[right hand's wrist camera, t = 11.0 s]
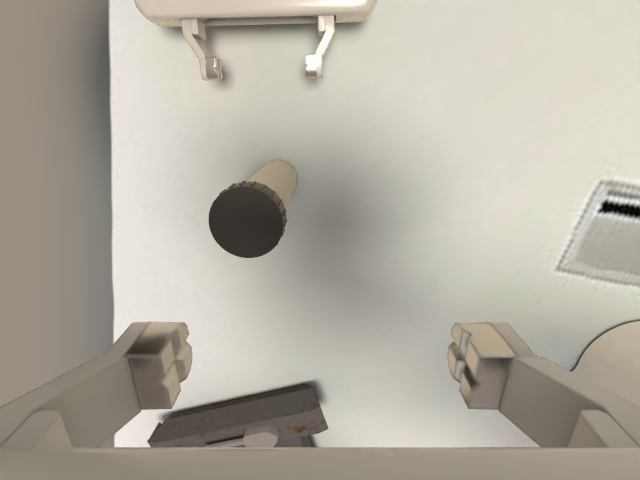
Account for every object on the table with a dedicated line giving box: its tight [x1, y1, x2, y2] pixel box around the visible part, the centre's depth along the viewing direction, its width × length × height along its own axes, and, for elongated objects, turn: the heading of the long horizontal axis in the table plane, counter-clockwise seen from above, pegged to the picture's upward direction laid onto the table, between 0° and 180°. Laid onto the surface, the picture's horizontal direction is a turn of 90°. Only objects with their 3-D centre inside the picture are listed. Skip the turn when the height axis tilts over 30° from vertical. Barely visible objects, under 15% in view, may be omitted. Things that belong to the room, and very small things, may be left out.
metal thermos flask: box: [246, 160, 297, 209], centre depth 32 cm, size 4×4×17 cm
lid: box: [209, 181, 287, 258], centre depth 24 cm, size 5×5×2 cm
